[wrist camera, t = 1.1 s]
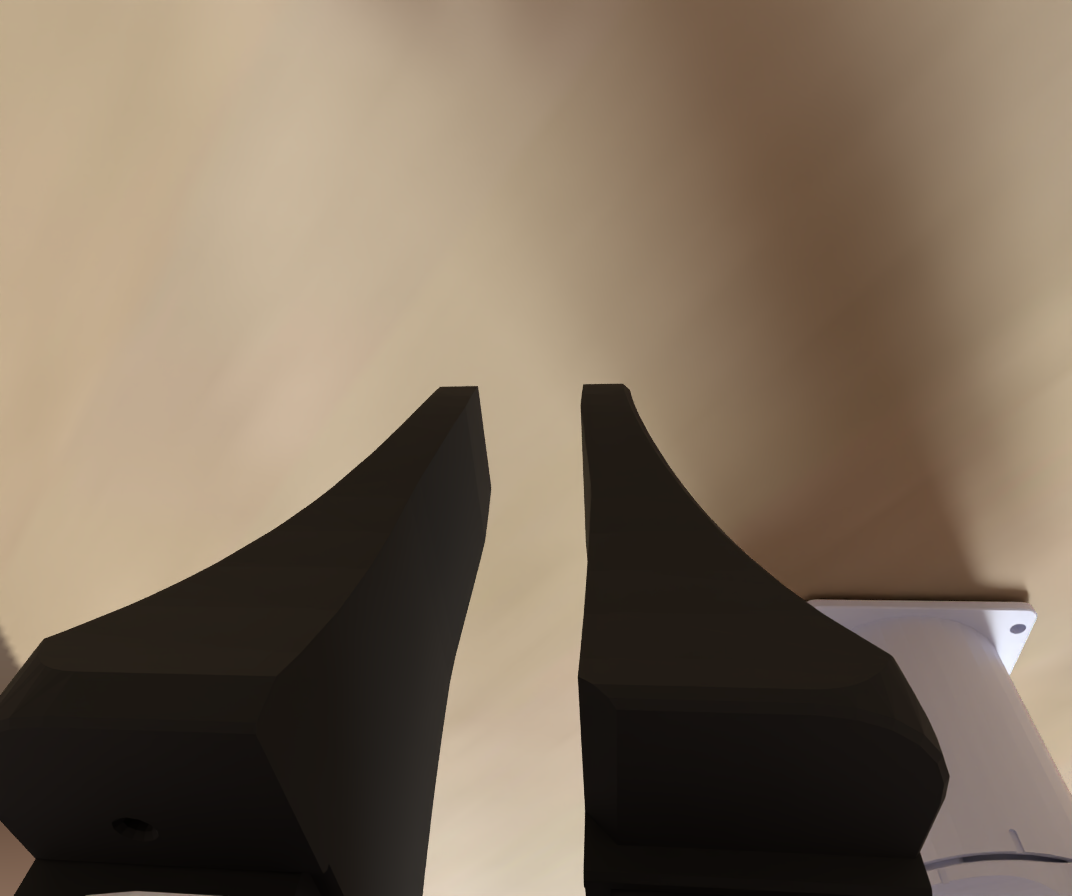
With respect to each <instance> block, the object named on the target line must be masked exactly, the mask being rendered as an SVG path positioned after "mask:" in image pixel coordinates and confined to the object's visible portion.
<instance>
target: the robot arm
mask: <svg viewBox="0 0 1072 896" xmlns="http://www.w3.org/2000/svg"><path fill="white" fill-rule="evenodd" d="M581 426H582V452H583V478H584V504H585V530H586V548H587V560H588V564H587V578H586V592H585V605H584V618H583V629H582V640H581V651H580V661H579V670H578V687H579V706H580V724H581V743H582V761H583V779H584V798H585V839H584V888H585V891H586V896H1072V795H1071V793H1070V791H1069V789H1068V787H1067V785H1066V784H1065V782H1064V780H1063V778H1062V776H1061V774H1060V772H1059V770H1058V768H1057V766H1056V764H1055V762H1054V760H1053V759H1052V757H1051V755H1050V753H1049V751H1048V749H1047V747H1046V745H1045V743H1044V741H1043V739H1042V737H1041V735H1040V733H1039V732H1038V730H1037V728H1036V726H1035V724H1034V722H1033V720H1032V718H1031V716H1030V714H1029V712H1028V710H1027V708H1026V707H1025V705H1024V703H1023V701H1022V699H1021V697H1020V695H1019V693H1018V691H1017V689H1016V687H1015V685H1014V683H1013V681H1012V680H1011V678H1010V674H1011V672H1012V670H1013V667H1014V665H1015V663H1016V661H1017V659H1018V657H1019V655H1020V653H1021V651H1022V649H1023V646H1024V644H1025V642H1026V640H1027V638H1028V636H1029V634H1030V632H1031V630H1032V628H1033V625H1034V623H1035V621H1036V619H1037V613H1036V611H1035V610H1034V608H1033V606H1032V605H1031V604H1029V603H1025V602H982V601H901V600H821V599H816V600H810V601H807V602H806V601H805V600H803V599H802V598H800V597H799V596H798V595H796V594H795V593H793V592H792V591H791V590H789V589H788V588H786V587H785V586H784V585H783V584H781V583H780V582H779V581H778V580H777V579H775V578H774V577H773V576H772V575H771V574H769V573H768V572H767V571H766V570H765V569H763V568H762V567H761V566H760V565H759V564H757V563H756V562H755V561H754V560H753V559H751V558H750V557H749V556H748V555H747V554H746V553H745V552H743V551H742V550H741V549H740V548H739V547H738V546H737V545H736V544H735V543H734V542H733V541H732V540H731V539H730V538H729V537H728V536H727V535H726V534H725V533H724V532H723V531H722V530H721V529H720V528H719V527H718V526H717V524H716V523H715V522H714V521H713V520H712V519H711V518H710V517H709V516H708V515H707V514H706V513H705V511H704V510H703V509H702V508H701V507H700V506H699V504H698V503H697V502H696V501H695V500H694V498H693V497H692V496H691V495H690V493H689V492H688V491H687V489H686V488H685V487H684V486H683V484H682V483H681V482H680V480H679V479H678V478H677V476H676V475H675V474H674V472H673V471H672V469H671V468H670V466H669V465H668V463H667V462H666V460H665V459H664V457H663V456H662V454H661V453H660V451H659V449H658V448H657V446H656V445H655V443H654V441H653V440H652V438H651V436H650V435H649V433H648V431H647V429H646V427H645V426H644V424H643V422H642V420H641V418H640V416H639V414H638V412H637V409H636V407H635V405H634V402H633V399H632V396H631V392H630V390H629V389H628V388H627V387H626V386H625V385H624V384H583V390H582V398H581ZM490 495H491V482H490V475H489V467H488V460H487V452H486V444H485V437H484V429H483V421H482V414H481V406H480V398H479V391H478V386H462V387H439V388H438V389H437V390H436V391H435V392H434V393H433V394H432V395H431V396H430V397H429V398H428V399H427V400H426V401H425V402H424V403H423V404H422V405H421V406H420V407H419V408H418V409H417V410H416V411H415V412H414V413H413V414H412V415H411V416H410V417H409V418H408V419H407V420H406V421H405V422H404V423H403V424H402V425H401V426H400V427H399V428H398V429H397V430H396V431H395V432H394V433H393V434H392V435H391V436H390V437H389V438H388V439H387V440H386V441H385V442H384V443H382V444H381V445H380V446H379V447H378V448H377V449H376V450H375V451H374V452H373V453H372V454H371V455H370V456H368V457H367V458H366V459H365V460H364V461H363V462H361V463H360V464H359V465H358V466H357V467H356V468H354V469H353V470H352V471H351V472H350V473H349V474H347V475H346V476H345V477H344V478H343V479H342V480H340V481H339V482H338V483H337V484H336V485H335V486H333V487H332V488H331V489H330V490H328V491H327V492H326V493H325V494H323V495H322V496H321V497H319V498H318V499H317V500H315V501H314V502H313V503H311V504H310V505H309V506H307V507H306V508H304V509H303V510H301V511H300V512H299V513H297V514H296V515H294V516H293V517H291V518H290V519H288V520H287V521H286V522H284V523H283V524H281V525H280V526H278V527H277V528H275V529H273V530H272V531H270V532H269V533H267V534H265V535H264V536H262V537H260V538H258V539H257V540H255V541H253V542H252V543H250V544H248V545H247V546H245V547H243V548H242V549H240V550H238V551H236V552H235V553H233V554H231V555H230V556H228V557H226V558H225V559H223V560H221V561H219V562H218V563H216V564H214V565H212V566H210V567H208V568H206V569H204V570H202V571H200V572H198V573H196V574H195V575H193V576H191V577H189V578H187V579H185V580H183V581H181V582H179V583H177V584H174V585H172V586H170V587H168V588H166V589H164V590H162V591H160V592H157V593H155V594H153V595H151V596H149V597H147V598H144V599H142V600H140V601H138V602H135V603H133V604H131V605H129V606H126V607H124V608H121V609H119V610H116V611H114V612H111V613H109V614H106V615H104V616H101V617H99V618H96V619H94V620H91V621H89V622H86V623H84V624H81V625H79V626H76V627H74V628H71V629H69V630H66V631H64V632H61V633H59V634H56V635H53V636H50V637H48V638H45V639H44V640H43V641H42V642H41V643H40V644H39V646H38V647H37V648H36V649H35V651H34V652H33V653H32V655H31V656H30V657H29V658H28V660H27V661H26V662H25V664H24V665H23V666H22V668H21V669H20V670H19V671H18V673H17V674H16V675H15V677H14V678H13V679H12V681H11V682H10V683H9V684H8V686H7V687H6V688H5V690H4V691H3V692H2V694H1V695H0V821H1V822H2V823H3V824H4V825H5V826H6V827H7V828H8V829H9V831H10V832H11V833H12V834H13V835H14V836H15V837H16V838H17V839H18V840H19V841H20V842H21V843H22V844H23V845H24V847H25V848H26V849H27V850H28V851H29V852H30V853H31V854H32V855H33V856H34V857H35V861H34V863H33V865H32V866H31V868H30V869H29V871H28V873H27V874H26V876H25V878H24V879H23V881H22V883H21V885H20V886H19V888H18V890H17V891H16V893H15V894H14V896H423V886H424V876H425V867H426V859H427V850H428V841H429V833H430V824H431V816H432V807H433V799H434V791H435V784H436V776H437V769H438V761H439V754H440V746H441V739H442V732H443V725H444V718H445V712H446V705H447V698H448V691H449V685H450V679H451V675H452V670H453V665H454V660H455V656H456V652H457V648H458V644H459V640H460V637H461V633H462V629H463V625H464V621H465V617H466V614H467V610H468V606H469V602H470V598H471V594H472V590H473V587H474V583H475V579H476V575H477V571H478V567H479V563H480V559H481V555H482V551H483V547H484V543H485V537H486V529H487V521H488V513H489V504H490Z"/></svg>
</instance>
